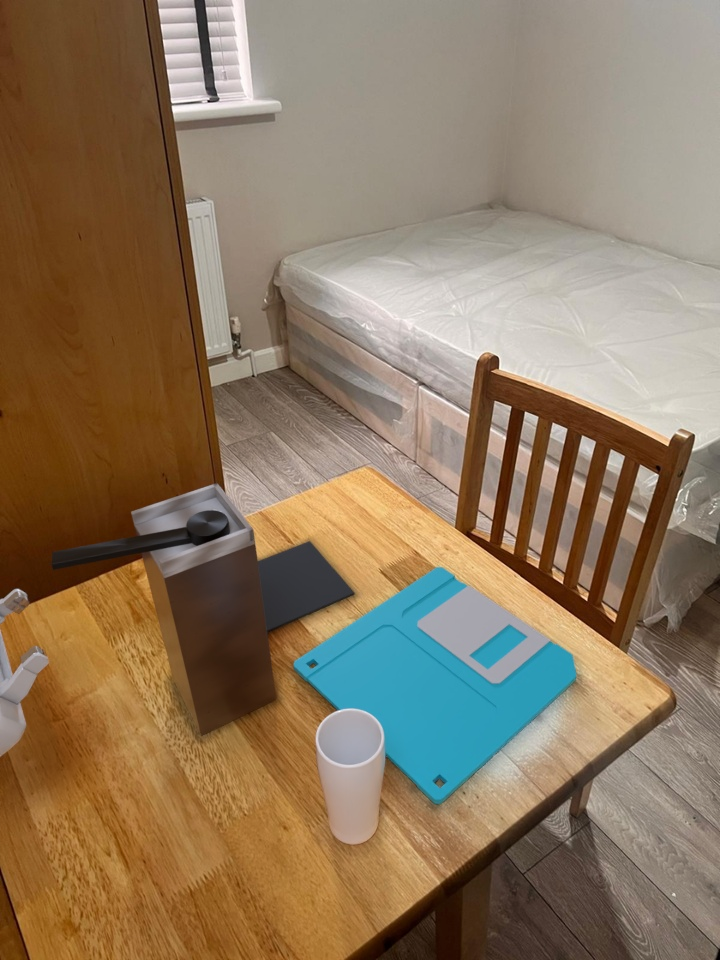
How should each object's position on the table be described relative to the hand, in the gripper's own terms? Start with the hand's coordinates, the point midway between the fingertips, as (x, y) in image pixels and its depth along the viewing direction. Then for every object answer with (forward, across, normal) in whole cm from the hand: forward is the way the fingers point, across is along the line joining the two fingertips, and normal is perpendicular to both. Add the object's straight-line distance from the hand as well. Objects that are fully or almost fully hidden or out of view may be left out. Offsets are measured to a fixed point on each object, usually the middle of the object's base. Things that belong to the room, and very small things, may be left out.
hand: (32, 622), depth 73 cm
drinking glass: (+8, -24, +30) cm, 40 cm away
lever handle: (+12, 0, +2) cm, 12 cm away
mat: (+14, +13, +33) cm, 38 cm away
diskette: (+26, -12, +40) cm, 49 cm away
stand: (+4, 0, +28) cm, 28 cm away
